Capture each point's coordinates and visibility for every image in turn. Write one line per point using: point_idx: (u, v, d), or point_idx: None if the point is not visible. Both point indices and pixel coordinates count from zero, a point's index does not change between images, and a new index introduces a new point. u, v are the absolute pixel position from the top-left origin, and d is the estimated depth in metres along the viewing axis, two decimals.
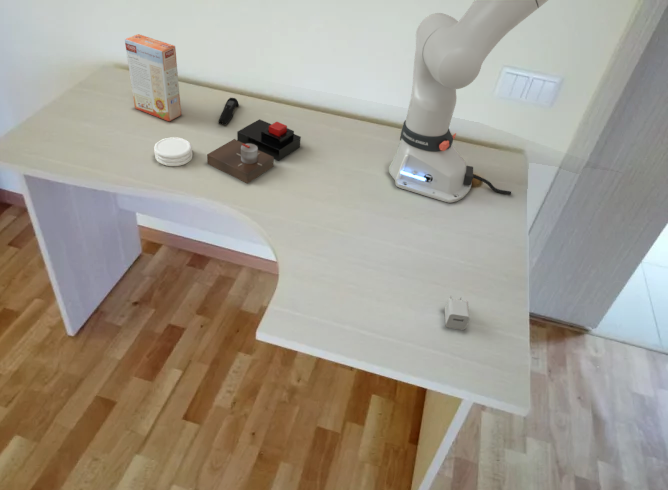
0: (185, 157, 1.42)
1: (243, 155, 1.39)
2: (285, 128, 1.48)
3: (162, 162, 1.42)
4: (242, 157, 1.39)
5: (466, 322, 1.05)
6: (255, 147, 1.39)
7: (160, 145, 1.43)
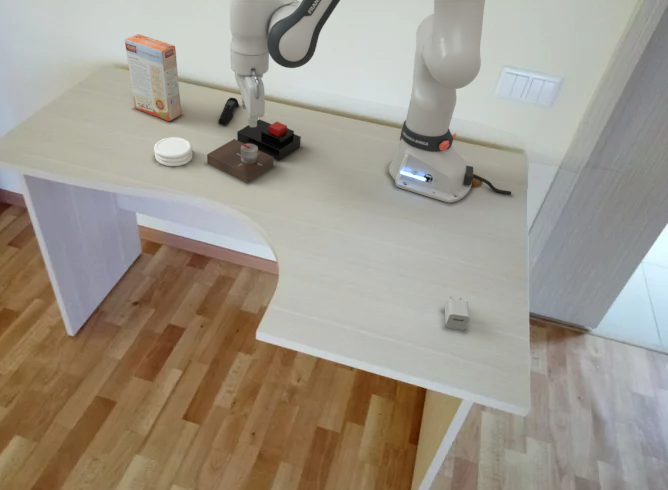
0: (185, 157, 1.42)
1: (243, 155, 1.39)
2: (285, 128, 1.48)
3: (162, 162, 1.42)
4: (242, 157, 1.39)
5: (466, 322, 1.05)
6: (255, 147, 1.39)
7: (160, 145, 1.43)
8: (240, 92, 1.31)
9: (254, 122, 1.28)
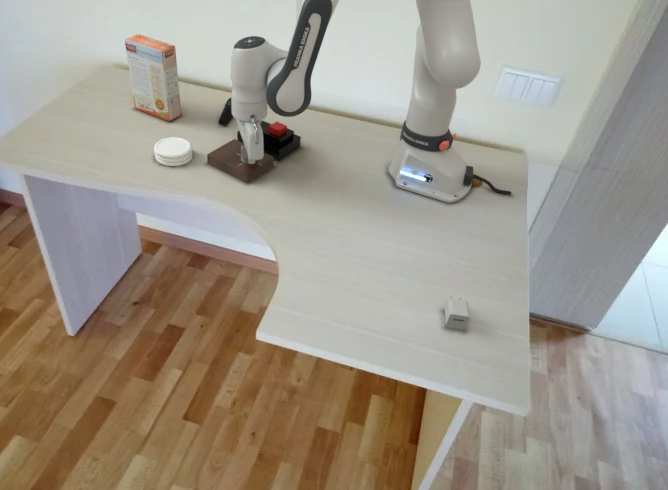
0: (185, 157, 1.42)
1: (243, 155, 1.39)
2: (285, 128, 1.48)
3: (162, 162, 1.42)
4: (242, 157, 1.39)
5: (466, 322, 1.05)
6: None
7: (160, 145, 1.43)
8: None
9: (252, 159, 1.38)
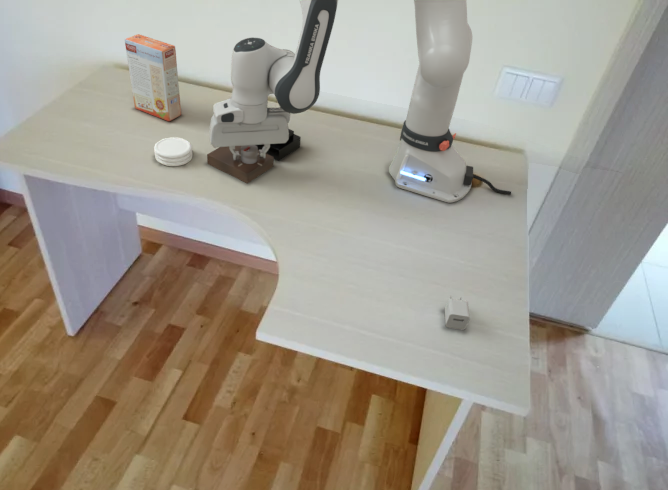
0: (185, 157, 1.42)
1: (255, 155, 1.39)
2: None
3: (162, 162, 1.42)
4: (254, 158, 1.39)
5: (466, 322, 1.05)
6: None
7: (160, 145, 1.43)
8: (241, 144, 1.36)
9: None
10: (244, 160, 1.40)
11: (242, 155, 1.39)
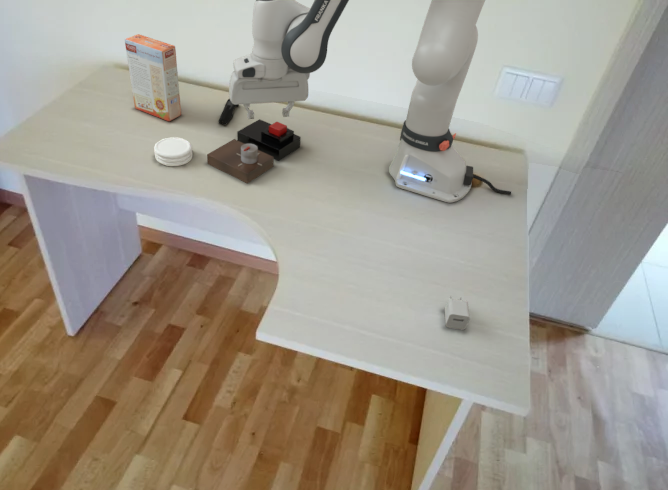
0: (185, 157, 1.42)
1: (255, 155, 1.39)
2: (285, 128, 1.48)
3: (162, 162, 1.42)
4: (254, 158, 1.39)
5: (466, 322, 1.05)
6: (247, 144, 1.40)
7: (160, 145, 1.43)
8: (261, 101, 1.35)
9: None
10: (244, 160, 1.40)
11: (242, 155, 1.39)
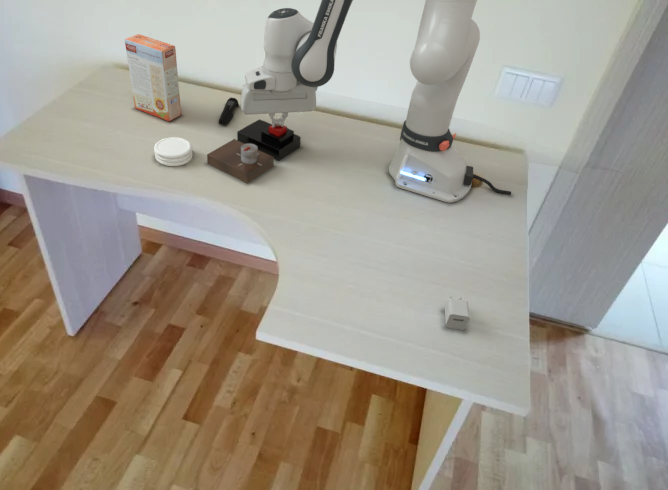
0: (185, 157, 1.42)
1: (255, 155, 1.39)
2: (285, 129, 1.48)
3: (162, 162, 1.42)
4: (254, 158, 1.39)
5: (466, 322, 1.05)
6: (247, 144, 1.40)
7: (160, 145, 1.43)
8: (271, 112, 1.42)
9: None
10: (244, 160, 1.40)
11: (242, 155, 1.39)
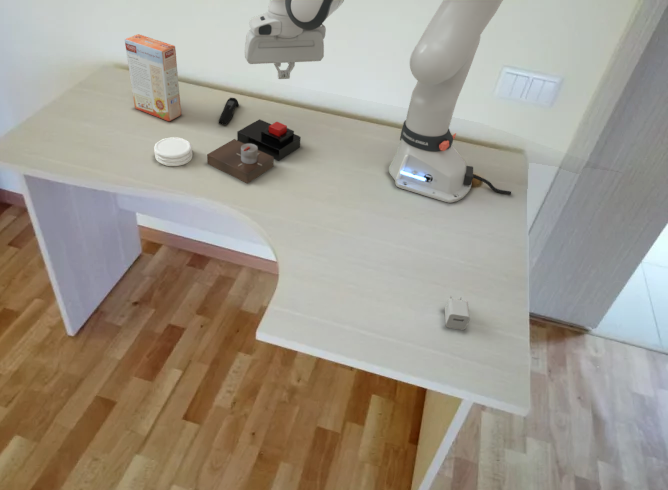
0: (185, 157, 1.42)
1: (255, 155, 1.39)
2: (285, 128, 1.48)
3: (162, 162, 1.42)
4: (254, 158, 1.39)
5: (466, 322, 1.05)
6: (247, 144, 1.40)
7: (160, 145, 1.43)
8: (276, 61, 1.35)
9: None
10: (244, 160, 1.40)
11: (242, 155, 1.39)
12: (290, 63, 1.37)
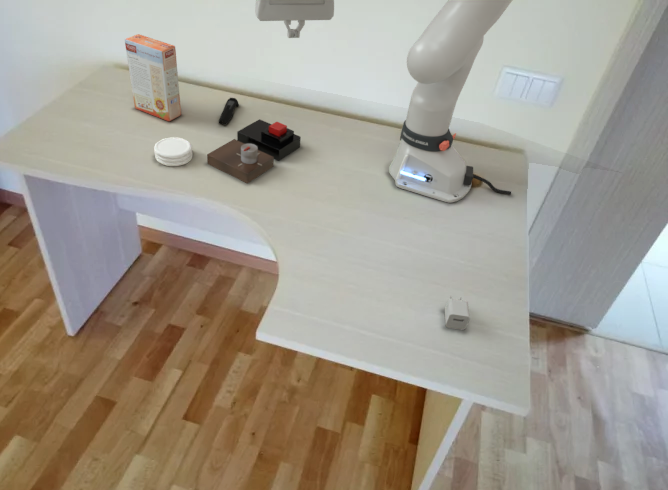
0: (185, 157, 1.42)
1: (255, 155, 1.39)
2: (285, 128, 1.48)
3: (162, 162, 1.42)
4: (254, 158, 1.39)
5: (466, 322, 1.05)
6: (247, 144, 1.40)
7: (160, 145, 1.43)
8: (287, 18, 1.36)
9: None
10: (244, 160, 1.40)
11: (242, 155, 1.39)
12: (300, 21, 1.38)
